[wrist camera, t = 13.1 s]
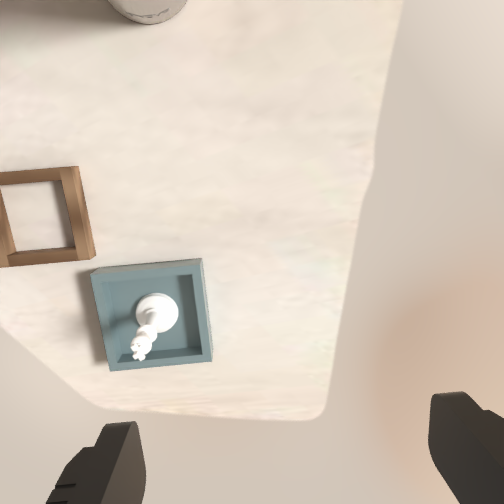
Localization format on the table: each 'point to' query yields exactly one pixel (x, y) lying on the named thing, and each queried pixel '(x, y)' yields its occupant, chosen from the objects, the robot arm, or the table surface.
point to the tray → (125, 303)
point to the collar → (3, 247)
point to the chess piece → (152, 321)
